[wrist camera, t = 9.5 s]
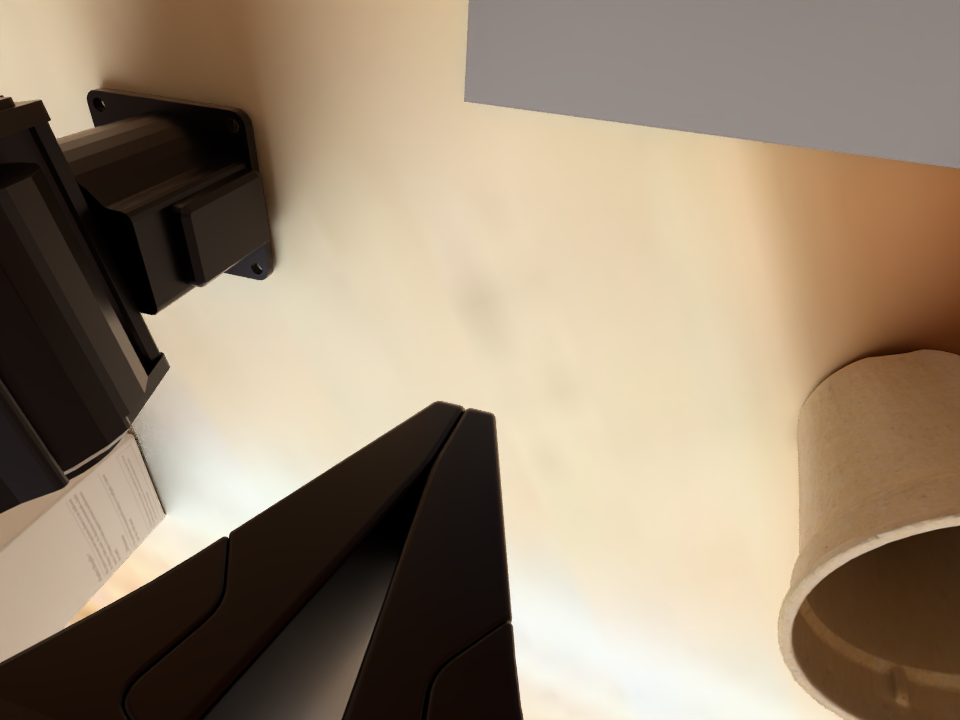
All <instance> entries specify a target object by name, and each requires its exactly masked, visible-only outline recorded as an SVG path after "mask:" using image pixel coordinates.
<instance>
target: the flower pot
mask: <svg viewBox="0 0 960 720" xmlns="http://www.w3.org/2000/svg"><path fill="white" fill-rule="evenodd" d="M797 445H798V468H799V554H800V555H799V556H798V558H797V561H796V563H795V566H794V569H793V572H792V576H791V581H790V589H789V591H788V593H787V594H786V596H785V598H784V600H783V603H782V606H781V609H780V613H779V619H778V642H779V646H780V651H781V654H782V657H783V660H784V663H785V664H786V666H787V668H788V669H789V671H790V673H791V674H792V676H793V678H794V680H795V681H796V682H797V683H798V684H799V685H800V686H801V687H802V688H803V689H804V690H805V691H806V692H807V693H808V694H809V695H810V696H811V697H812V698H813V699H814V700H816V701H817V702H818V703H819V704H820V705H822V706H824V707H825V708H826V709H828V710H830V711H832V712H834V713H835V714H836V715H838V716H839V717H842V718H843V719H844V720H960V355H956V354H953V353H948V352H944V351H937V350H927V349H923V350H917V351H913V352H909V353H903V354H896V355H887V356H879V357H868V358H864V359H861V360H858V361H856V362H854V363H851V364H849V365H847V366H845V367H844V368H842V369H840V370H838V371H837V372H835V373H834V374H832V375H830V376H829V377H828V378H827V379H825V380H824V381H823V382H822V383H821V384H820V385H819V386H818V387H817V388H816V389H815V390H814V391H813V392H812V393H811V395H810V396H809V398H808V399H807V401H806V402H805V404H804V406H803V408H802V410H801V412H800V416H799V419H798V427H797Z"/></svg>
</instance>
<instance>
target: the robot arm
mask: <svg viewBox="0 0 960 720" xmlns="http://www.w3.org/2000/svg"><path fill="white" fill-rule="evenodd" d="M102 101H103V102H104V104H105V107H104V106H103V103H102ZM87 102H88V106H89V109H90V113H91V116H92V119H93V123H94V126H95V128H92V129H88V130H85V131H82V132H78V133H75V134H72V135H68V136H65V137H62V138H58V139H56V138H55V136H54V134H53V132H52V129H51V127H50V125H49V123H48V121H50V120H51V119H50V117H49V115H48V113H47V110H46V108H45V106H44V104H43V102H42V100H32V101H23V102H13V100H12V98H11V97H4V96H3V95H1V96H0V514H1V513H3V512H5V511H7V510H9V509H11V508H13V507H16V506H18V505H20V504H22V503H25V502H28V501H30V500H33V499H36V498H39V497H42V496H44V495H47V494H50V493H53V492H56V491H58V490H61V489H63V488H64V487H66V486H67V485H68V483H69V480H71V479H73V478H75V477H76V476H78V475H80V474H82V473H84V472H85V471H87V470H88V469H90V468H91V467H93V466H94V465H96V464H97V463H99V462H100V461H101V460H102V459H103V458H104V457H106V456H107V455H108V454H109V453H110V452H111V451H112V450H113V449H114V448H115V446H116V445H117V444H118V443H119V442H120V440H121V439H122V437H123V436H125V434H126V433H127V431H128V429H129V428H130V426H131V424H132V422H133V421H134V420H135V418H136V417H137V415H138V414H139V412H140V411H141V409H142V408H143V406H144V405H145V403H146V402H147V401H148V399H149V398H150V396H151V395H152V393H153V392H154V390H155V389H156V387H157V386H158V384H159V383H160V381H161V380H162V379H163V377H164V376H165V374H166V373H167V371H168V370H169V368H170V366H169V364H168V362H167V359H166V357H165V355H164V353H162V352H159V350H158V348H157V346H156V344H155V342H154V340H153V337H152V335H151V333H150V331H149V329H148V327H147V325H146V323H145V321H144V319H143V317H142V315H141V313H146V314H150V315H156V314H157V313H158V312H160V311H161V310H163V309H164V308H166V307H167V306H169V305H170V304H172V303H173V302H175V301H176V300H177V299H179V298H180V297H182V296H183V295H185V294H186V293H188V292H189V291H191V290H192V289H193V288H195V287H196V286H197V287H203V286H205V285H206V284H208V283H209V282H211V281H212V280H214V279H215V278H217V277H218V276H219V275H221V274H222V273H228V274H232V275H237V276H242V277H247V278H252V279H256V280H264V279H266V278H267V277H268V276H270V275H271V274H272V272H273V261H272V254H271V247H270V241H269V239H270V233H269V227H268V220H267V213H266V207H265V200H264V193H263V187H262V180H261V177H260V174H259V168H258V161H257V154H256V148H255V141H254V134H253V128H252V123H251V120H250V118H249V116H248V115H247V114H246V113H245V112H244V111H243V110H241V109H238V108H234V107H227V106H220V105H214V104H207V103H200V102H194V101H187V100H180V99H173V98H167V97H160V96H153V95H146V94H140V93H133V92H126V91H119V90H113V89H106V88H100V89H96V90H91V91H90V92H89V93H88V95H87ZM233 119H235V120H236V121H237V122H238V125H239V130H238V129H237V128H236V127H235V126H234V124H233ZM257 264H259V265H260V266H261V267H262V270H261V269H260V268H259V267H258V266H257ZM511 622H512V613H511V601H510V589H509V577H508V564H507V552H506V540H505V528H504V515H503V503H502V491H501V479H500V467H499V454H498V442H497V430H496V419H495V416H494V414H493V413H490V412H485V411H481V410H477V409H473V408H469V409H466V410H465V409H464V408H463V406H460V405H456V404H452V403H447V402H443V401H437V402H434V403H432V404H431V405H429V406H428V407H426V408H425V409H423V410H421V411H420V412H418V413H417V414H415V415H414V416H412V417H410V418H409V419H407V420H406V421H404V422H403V423H401V424H399V425H398V426H396V427H395V428H393V429H392V430H390V431H388V432H387V433H385V434H384V435H382V436H381V437H379V438H378V439H376V440H374V441H373V442H371V443H370V444H368V445H367V446H365V447H363V448H362V449H360V450H359V451H357V452H356V453H354V454H352V455H351V456H349V457H348V458H346V459H345V460H343V461H342V462H340V463H338V464H337V465H335V466H334V467H332V468H331V469H329V470H327V471H326V472H324V473H323V474H321V475H320V476H318V477H316V478H315V479H313V480H312V481H310V482H309V483H307V484H305V485H304V486H302V487H301V488H299V489H298V490H296V491H295V492H293V493H291V494H290V495H288V496H287V497H285V498H284V499H282V500H280V501H279V502H277V503H276V504H274V505H273V506H271V507H269V508H268V509H266V510H265V511H263V512H262V513H260V514H258V515H257V516H255V517H254V518H252V519H251V520H249V521H248V522H246V523H244V524H243V525H241V526H240V527H238V528H237V529H235V530H233V531H232V532H231V533H230V535H229V538H228V537H222V538H220V539H219V540H217V541H216V542H214V543H213V544H211V545H210V546H208V547H206V548H205V549H203V550H202V551H200V552H199V553H197V554H195V555H194V556H192V557H190V558H189V559H187V560H185V561H184V562H182V563H181V564H179V565H177V566H176V567H174V568H172V569H171V570H169V571H167V572H166V573H164V574H162V575H161V576H159V577H158V578H156V579H154V580H153V581H151V582H149V583H147V584H146V585H144V586H142V587H140V588H138V589H137V590H135V591H133V592H131V593H129V594H128V595H126V596H124V597H122V598H120V599H118V600H117V601H115V602H113V603H111V604H109V605H108V606H106V607H104V608H102V609H100V610H99V611H97V612H95V613H93V614H91V615H89V616H87V617H85V618H84V619H82V620H80V621H78V622H76V623H74V624H72V625H70V626H68V627H67V628H65V629H63V630H61V631H59V632H57V633H55V634H53V635H51V636H50V637H48V638H46V639H44V640H42V641H40V642H38V643H36V644H34V645H33V646H31V647H29V648H27V649H25V650H23V651H21V652H19V653H17V654H16V655H14V656H12V657H10V658H8V659H6V660H4V661H2V662H1V663H0V720H524V719H523V714H522V708H521V701H520V692H519V684H518V676H517V667H516V659H515V646H514V634H513V626H512V624H511Z"/></svg>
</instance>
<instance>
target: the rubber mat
mask: <svg viewBox="0 0 960 720" xmlns="http://www.w3.org/2000/svg"><path fill="white" fill-rule="evenodd" d="M464 102H472V103H479V104H486V105H494V106H501V107H509V108H516V109H523V110H531V111H538V112H546V113H553V114H560V115H568V116H575V117H583V118H590V119H597V120H605V121H612V122H620V123H627V124H634V125H642V126H649V127H657V128H664V129H671V130H679V131H686V132H694V133H701V134H708V135H716V136H723V137H730V138H738V139H745V140H753V141H760V142H767V143H775V144H782V145H790V146H797V147H804V148H812V149H819V150H827V151H834V152H841V153H849V154H856V155H864V156H871V157H878V158H886V159H893V160H901V161H908V162H915V163H923V164H930V165H938V166H945V167H952V168H960V0H469V11H468V33H467V54H466V76H465V98H464Z"/></svg>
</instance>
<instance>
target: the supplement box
mask: <svg viewBox="0 0 960 720" xmlns="http://www.w3.org/2000/svg"><path fill="white" fill-rule="evenodd" d="M164 518H165V514H164V511H163V509H162V507H161V504H160V502H159V499H158V497H157V494H156V492H155V489H154V487H153V484H152V482H151V479H150V477H149V474H148V471H147V469H146V466H145V464H144V461H143V459H142V456H141V453H140V451H139V448H138V446H137V443H136V441H135V438H134V436H133V435H132V434H129V433H126V434H125V436H123V437H122V439H121V440H120V442H119V443H118V444H117V445H116V446H115V448H114V449H113V450H112V451H111V452H110V453H109V454H108V455H107V456H106V457H104V458H103V459H102V460H101V461H100V462H99V463H97V464H96V465H94V466H93V467H91V468H90V469H88V470H87V471H85V472H84V473H82V474H80V475H78V476H76V477H75V478H73V479H71V480H69V483H68V485H67V486H66V487H64V488H63V489H61V490H58V491H56V492H53V493H50V494H47V495H44V496H42V497H39V498H36V499H33V500H30V501H28V502H25V503H22V504H20V505H18V506H16V507H13V508H11V509H9V510H7V511H5V512H3V513H1V514H0V663H1V662H2V661H4V660H6V659H8V658H10V657H12V656H14V655H16V654H17V653H19V652H21V651H23V650H25V649H27V648H29V647H31V646H33V645H34V644H36V643H38V642H40V641H42V640H44V639H46V638H48V637H50V636H51V635H53V634H55V633H57V632H59V631H61V630H63V628H64V627H65V626H66V625H67V624H68V623H69V622H70V621H71V620H72V619H73V618H74V616H75V615H76V614H77V613H78V612H79V611H80V610H81V609H82V608H83V607H84V605H85V604H86V603H87V602H88V601H89V600H90V599H91V598H92V597H93V596H94V594H95V593H96V592H97V591H98V590H99V589H100V588H101V587H102V586H103V585H104V584H105V582H106V581H107V580H108V579H109V578H110V577H111V576H112V575H113V574H114V573H115V571H116V570H117V569H118V568H119V567H120V566H121V565H122V564H123V563H124V561H125V560H126V559H127V558H128V557H129V556H130V555H131V554H132V553H133V552H134V551H135V549H136V548H137V547H138V546H139V545H140V544H141V543H142V542H143V541H144V540H145V538H146V537H147V536H148V535H149V534H150V533H151V532H152V531H153V530H154V529H155V527H156V526H157V525H158V524H159V523H160V522H161V521H162V520H163V519H164Z"/></svg>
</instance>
